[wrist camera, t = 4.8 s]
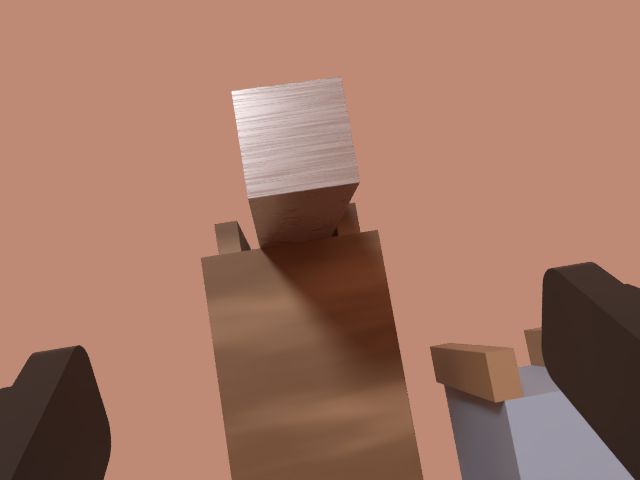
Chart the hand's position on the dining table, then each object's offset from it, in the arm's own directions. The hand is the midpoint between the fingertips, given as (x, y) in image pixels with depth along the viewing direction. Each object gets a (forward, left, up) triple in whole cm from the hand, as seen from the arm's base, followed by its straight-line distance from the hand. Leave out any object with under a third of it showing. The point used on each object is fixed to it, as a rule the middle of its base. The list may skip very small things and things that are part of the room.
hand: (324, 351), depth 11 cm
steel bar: (-6, +17, +4) cm, 18 cm away
